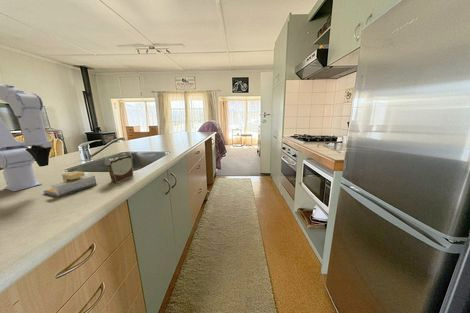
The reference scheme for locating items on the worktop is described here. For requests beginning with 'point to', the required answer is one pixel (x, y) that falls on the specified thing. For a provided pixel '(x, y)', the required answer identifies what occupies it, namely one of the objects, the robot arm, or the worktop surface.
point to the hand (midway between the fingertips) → (43, 165)
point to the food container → (119, 167)
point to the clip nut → (72, 175)
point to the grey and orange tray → (71, 186)
